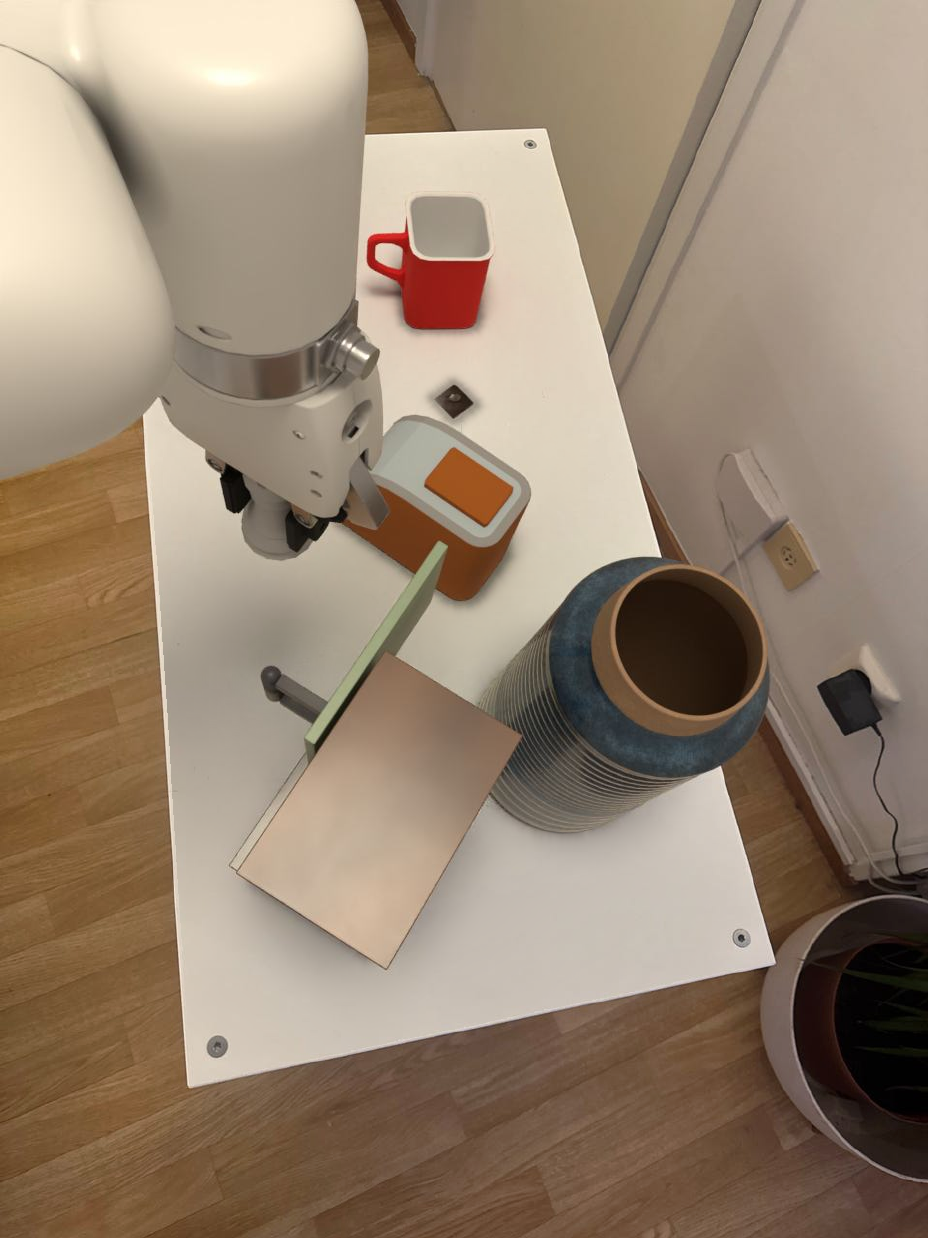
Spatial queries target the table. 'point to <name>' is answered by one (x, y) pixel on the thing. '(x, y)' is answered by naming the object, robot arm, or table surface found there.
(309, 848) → the cabinet
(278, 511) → the rook chess piece
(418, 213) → the mug
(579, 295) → the table surface
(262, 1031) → the table surface
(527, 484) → the alarm clock
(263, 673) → the door
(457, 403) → the small square plate
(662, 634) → the vase
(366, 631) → the table surface
